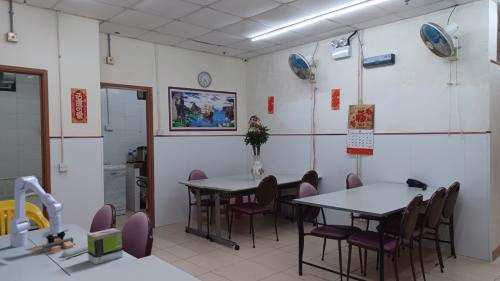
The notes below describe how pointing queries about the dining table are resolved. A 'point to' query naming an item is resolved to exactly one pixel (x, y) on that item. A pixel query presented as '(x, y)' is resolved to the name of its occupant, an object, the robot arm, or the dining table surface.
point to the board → (39, 249)
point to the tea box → (104, 245)
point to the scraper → (55, 243)
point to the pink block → (55, 249)
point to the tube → (75, 251)
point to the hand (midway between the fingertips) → (56, 246)
